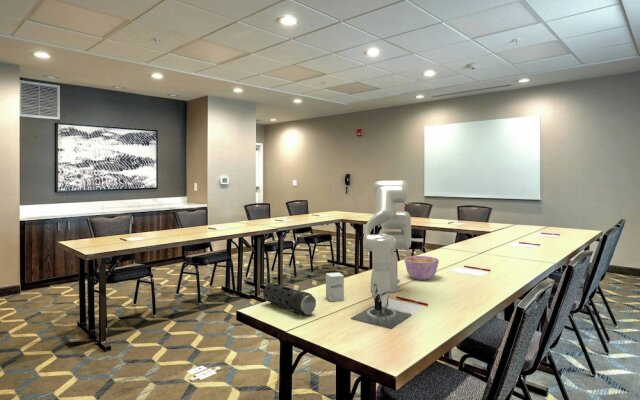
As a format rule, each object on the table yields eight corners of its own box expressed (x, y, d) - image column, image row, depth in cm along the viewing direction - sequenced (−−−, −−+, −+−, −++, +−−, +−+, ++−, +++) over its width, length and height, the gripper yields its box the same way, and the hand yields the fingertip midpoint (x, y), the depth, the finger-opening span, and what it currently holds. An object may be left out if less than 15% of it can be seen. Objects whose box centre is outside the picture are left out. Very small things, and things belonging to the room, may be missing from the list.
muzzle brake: (278, 301, 192) (278, 280, 191) (317, 314, 171) (317, 291, 171) (262, 305, 185) (262, 284, 185) (301, 320, 165) (301, 296, 164)
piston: (379, 309, 171) (379, 291, 170) (389, 311, 168) (389, 293, 167) (373, 312, 167) (373, 294, 166) (383, 315, 164) (383, 296, 163)
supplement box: (329, 302, 189) (329, 276, 188) (325, 297, 196) (325, 272, 195) (344, 300, 191) (344, 275, 190) (339, 296, 198) (339, 271, 197)
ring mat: (373, 307, 180) (373, 302, 180) (411, 315, 169) (411, 310, 169) (350, 319, 165) (350, 314, 165) (391, 329, 154) (391, 323, 154)
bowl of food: (398, 275, 237) (397, 257, 237) (426, 273, 243) (426, 254, 243) (415, 284, 218) (415, 263, 218) (445, 281, 224) (446, 261, 223)
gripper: (383, 261, 175) (383, 301, 176) (363, 269, 162) (363, 312, 163) (398, 263, 170) (398, 304, 171) (379, 271, 157) (379, 315, 158)
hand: (381, 307), depth 167 cm, fingers closed on piston, 5 cm apart
